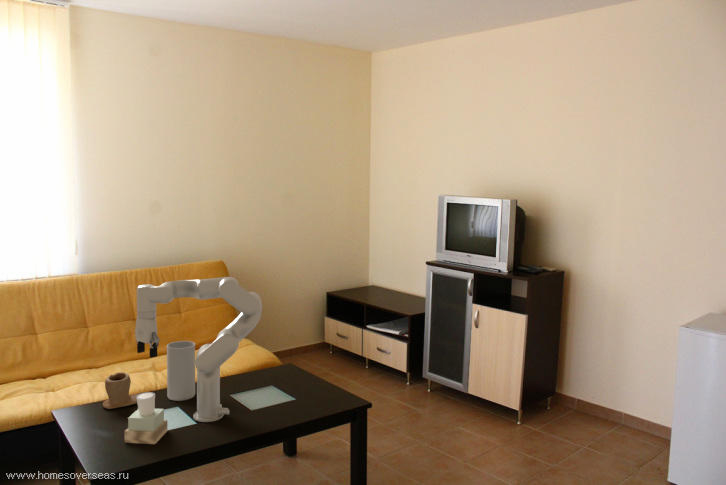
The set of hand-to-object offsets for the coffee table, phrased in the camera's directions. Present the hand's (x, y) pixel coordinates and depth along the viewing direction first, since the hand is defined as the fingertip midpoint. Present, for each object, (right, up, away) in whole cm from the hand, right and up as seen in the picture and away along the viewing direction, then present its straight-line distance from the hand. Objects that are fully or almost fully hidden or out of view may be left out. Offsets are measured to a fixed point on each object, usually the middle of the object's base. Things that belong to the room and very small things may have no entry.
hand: (147, 354), depth 238 cm
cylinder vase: (+5, -26, +30) cm, 40 cm away
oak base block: (+5, -30, -13) cm, 33 cm away
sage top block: (+5, -25, -14) cm, 29 cm away
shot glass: (+5, -20, -14) cm, 25 cm away
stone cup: (-18, -27, +17) cm, 37 cm away
